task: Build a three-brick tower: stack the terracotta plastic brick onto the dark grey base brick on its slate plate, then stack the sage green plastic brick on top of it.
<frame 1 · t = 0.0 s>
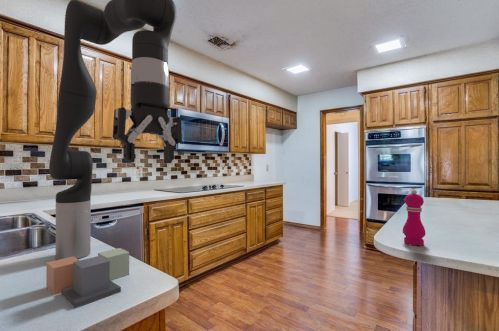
hand: (150, 162, 56), 29 cm above the countertop, tool pointing down, fingers open, 8 cm apart
pepper mill: (413, 244, 98), on the countertop
tower base: (91, 292, 60), on the countertop
brick terracotta: (64, 287, 63), on the countertop
brick sage: (113, 275, 69), on the countertop
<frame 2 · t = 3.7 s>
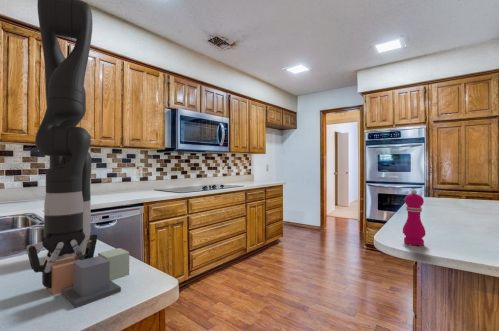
hand: (64, 282, 63), 1 cm above the countertop, tool pointing down, fingers closed on brick terracotta, 5 cm apart
brick terracotta: (64, 287, 63), on the countertop, touching gripper
everything else where it was.
when the fingers open (9 cm above the countertop, at t = 8.1 s): brick terracotta drops 1 cm, resting on tower base.
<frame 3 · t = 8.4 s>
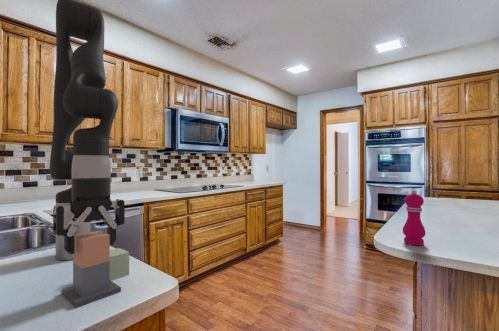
hand: (91, 248, 60), 10 cm above the countertop, tool pointing down, fingers open, 7 cm apart
brick terracotta: (91, 261, 60), point 7 cm above the countertop, touching tower base
everything else where it was.
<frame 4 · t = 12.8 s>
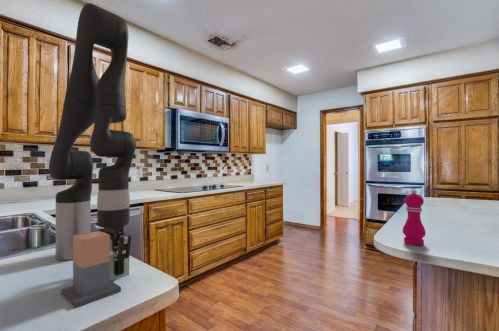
hand: (113, 271, 69), 1 cm above the countertop, tool pointing down, fingers closed on brick sage, 5 cm apart
brick sage: (113, 275, 69), on the countertop, touching gripper
everything else where it was.
when the fingers open (15 cm above the countertop, at t = 17.1 s): brick sage drops 1 cm, resting on brick terracotta.
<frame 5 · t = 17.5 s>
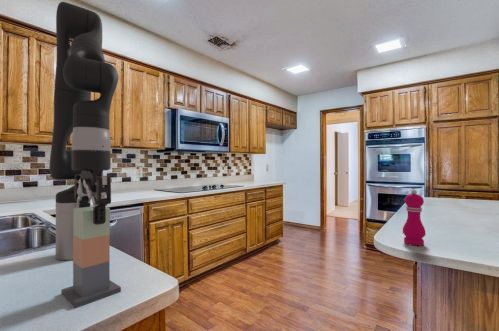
hand: (91, 221, 60), 16 cm above the countertop, tool pointing down, fingers open, 8 cm apart
brick terracotta: (91, 261, 60), point 7 cm above the countertop, touching brick sage, tower base
brick sage: (91, 234, 60), point 13 cm above the countertop, touching brick terracotta
everything else where it was.
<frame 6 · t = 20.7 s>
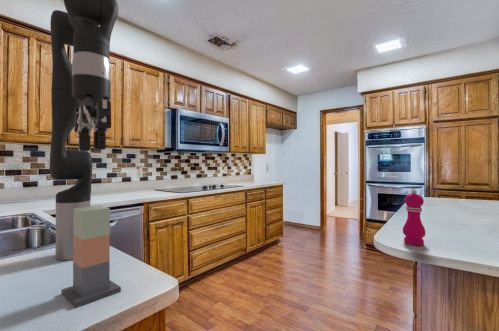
hand: (91, 150, 60), 32 cm above the countertop, tool pointing down, fingers open, 8 cm apart
nothing on the countertop moved.
at the end: brick terracotta 0.0 cm off-centre on the tower base, point 7.0 cm above the tower base's base; brick sage 0.0 cm off-centre on the tower base, point 13.0 cm above the tower base's base; the gripper is holding nothing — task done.
